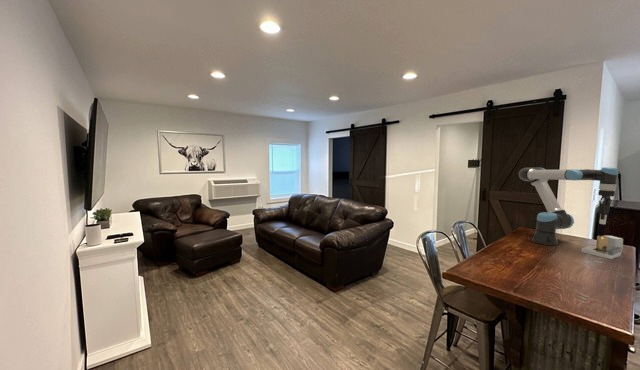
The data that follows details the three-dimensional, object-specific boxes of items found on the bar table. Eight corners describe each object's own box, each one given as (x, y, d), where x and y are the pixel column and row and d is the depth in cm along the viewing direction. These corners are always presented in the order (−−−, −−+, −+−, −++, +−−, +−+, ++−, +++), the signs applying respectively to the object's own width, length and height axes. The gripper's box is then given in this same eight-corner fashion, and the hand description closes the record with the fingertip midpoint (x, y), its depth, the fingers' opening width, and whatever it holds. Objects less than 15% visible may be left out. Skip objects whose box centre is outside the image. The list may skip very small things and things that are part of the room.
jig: (581, 251, 184) (581, 244, 183) (590, 248, 190) (591, 241, 190) (611, 259, 170) (612, 251, 170) (620, 255, 177) (621, 247, 176)
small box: (622, 253, 181) (623, 238, 180) (613, 253, 181) (615, 238, 180) (609, 249, 189) (611, 235, 188) (601, 249, 189) (603, 235, 188)
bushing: (604, 255, 177) (606, 238, 176) (594, 253, 181) (595, 236, 180) (607, 254, 179) (609, 237, 178) (597, 252, 184) (599, 235, 182)
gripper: (610, 191, 170) (606, 226, 173) (618, 190, 176) (614, 224, 179) (595, 189, 177) (590, 223, 180) (603, 189, 183) (598, 221, 185)
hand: (602, 223), depth 179 cm, fingers closed
